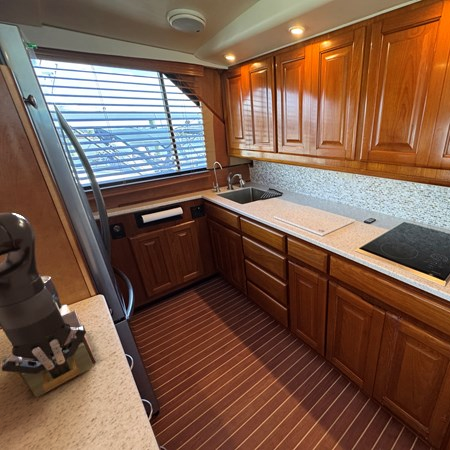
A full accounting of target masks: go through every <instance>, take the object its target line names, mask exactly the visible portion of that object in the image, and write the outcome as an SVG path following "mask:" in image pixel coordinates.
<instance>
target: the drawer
mask: <svg viewBox="0 0 450 450" xmlns="http://www.w3.org/2000/svg"><path fill="white" fill-rule="evenodd" d="M66 348H67V347H65V348H63V349H62V351H65V350H66ZM50 355H51V357H52V358H53V360H54V361H56V359H55V356H54V354H53V353H52V354H50ZM38 361H39V360H38ZM56 362H57V361H56ZM67 362H68V364H69V366H70V371H69V372H67V373H65V374H63V375H61V376H59V377H57V378H55V379H53V378H52V376H51V375H50V373H49V371H48V370H42V371H41V372H39V373H38V374H29V373H22V376H23V377H24V379H25V381H26V382H27V384H28V385H29V387H30V389H31V390H32V392H33V393H34V395H35V396H34V397H35V398H38V397H40V396H42V395H44V394H46V393H47V392H49V391H51V390H54V389H55V388H57V387H59V386H60V385H62V384H64V383H66V382H68V381H69V380H71V379H73V378H75V377H78V376H79V375H81V374H83V373H84V372H86V371H88V370H89V369H92V368H94V364H93V363H92V361H91V359H90V357H89V354H88V352H87V350H86V348H85V346H84V343H83V342H82V341H81V343H80V345H79V347H78V348H77V350H76V352H75V354H74V355H73V356H71V357H69V358H67Z"/></svg>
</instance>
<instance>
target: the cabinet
mask: <svg viewBox="0 0 450 450" xmlns="http://www.w3.org/2000/svg"><path fill="white" fill-rule="evenodd" d="M62 318H63V320H64V322H65V323H66V324H69V325H70V327H78V326H80V325H82V322H81V320H80V318H79V315H78V314H77V311H76V310H73V311H70V313H68V314H65V315H63V316H62ZM70 340H71V334H69V336H68V338H67V340H66V342H65V344H64V346H63V347H61V348H62V349H63V348H65V347H67V346H68V344H69V342H70ZM82 342H83V343H84V346H85V348H86V350H87V352H88V354H89V357H90V359H91V361H92V363H93V365H94V364H95V363H97V361H96V359H95V356H94V352H93V350H92V348H91V345H90V342H89V339H88V336H87V333H86V334H85V335H84V337H83V339H82ZM50 354H52V353H50ZM21 358H22V359H23V360H31V361H38V359H30V358H24V357H21ZM18 374H19V376H20V377H21V379H22V380H23V382H24V384H25V385H26V386H27V389H28V390H29V392H30V393H31V395H32V396H33V397H35V395H34V393H33V392H32V390H31V389H30V387H29V385H28V384H27V382H26V381H25V379H24V377H23V376H22V373H18Z"/></svg>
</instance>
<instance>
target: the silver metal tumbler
mask: <svg viewBox="0 0 450 450" xmlns="http://www.w3.org/2000/svg"><path fill="white" fill-rule="evenodd" d="M40 277H41V279H42V281H43V283H44V285H45V287H46V288H47V290H48V291H49V292H50V293H51V295H52V297H58V298H59V301H60V302H61V300H60V294H59V290H58V288H57V287H56V286H57V285H55V282H54V281H53V279H52V278H51V276H49V275H40Z"/></svg>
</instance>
